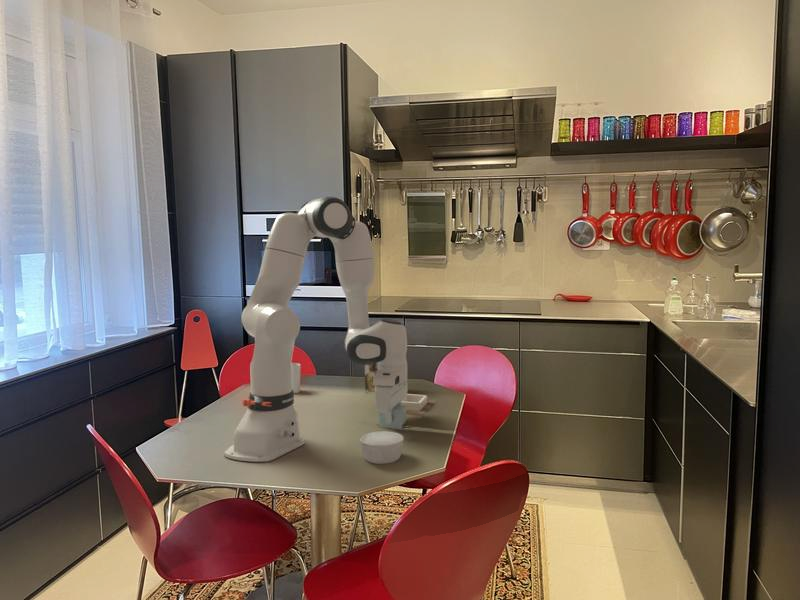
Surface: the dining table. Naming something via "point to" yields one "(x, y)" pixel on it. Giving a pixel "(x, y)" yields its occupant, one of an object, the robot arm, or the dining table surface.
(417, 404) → the socket
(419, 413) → the walnut board
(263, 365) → the robot arm
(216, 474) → the dining table surface
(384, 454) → the ramekin
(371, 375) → the coffee box
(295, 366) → the drinking glass
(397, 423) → the keyed plug
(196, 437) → the dining table surface
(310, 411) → the dining table surface
